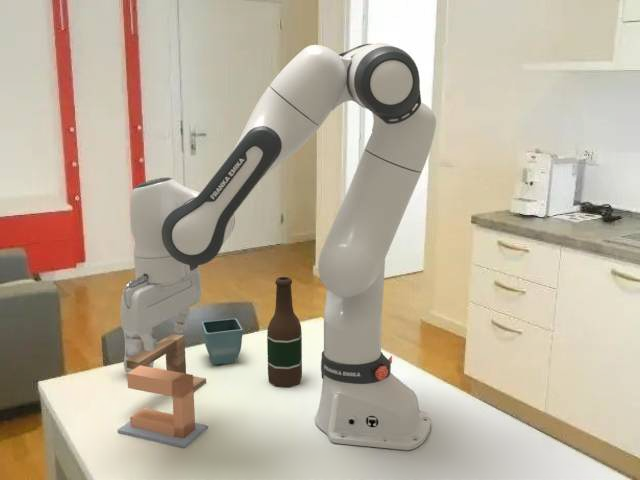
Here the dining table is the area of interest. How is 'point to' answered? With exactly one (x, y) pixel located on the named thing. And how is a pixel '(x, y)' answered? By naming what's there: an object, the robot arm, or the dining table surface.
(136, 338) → the plastic bottle
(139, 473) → the dining table surface
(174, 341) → the brown wooden angular piece
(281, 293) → the beer bottle
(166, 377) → the c link
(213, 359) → the flower pot
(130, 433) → the felt mat
